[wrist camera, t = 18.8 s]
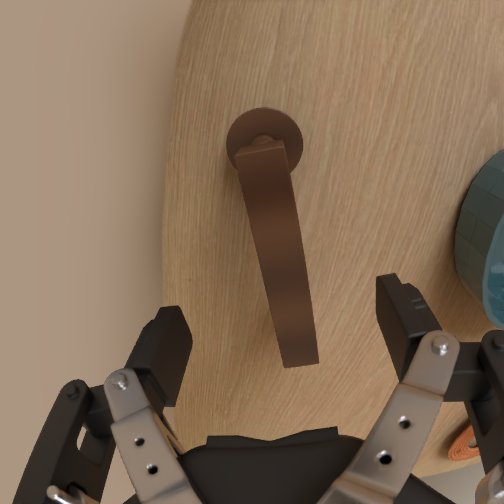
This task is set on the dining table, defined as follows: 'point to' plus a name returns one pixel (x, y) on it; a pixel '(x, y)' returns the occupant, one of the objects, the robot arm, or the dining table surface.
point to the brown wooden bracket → (276, 224)
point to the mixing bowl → (483, 240)
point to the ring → (463, 446)
